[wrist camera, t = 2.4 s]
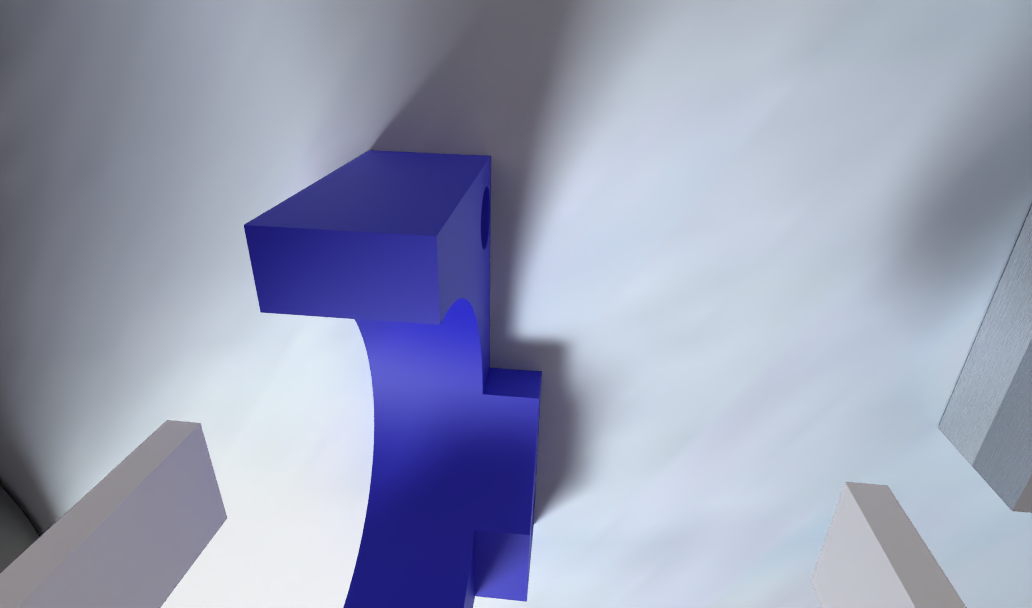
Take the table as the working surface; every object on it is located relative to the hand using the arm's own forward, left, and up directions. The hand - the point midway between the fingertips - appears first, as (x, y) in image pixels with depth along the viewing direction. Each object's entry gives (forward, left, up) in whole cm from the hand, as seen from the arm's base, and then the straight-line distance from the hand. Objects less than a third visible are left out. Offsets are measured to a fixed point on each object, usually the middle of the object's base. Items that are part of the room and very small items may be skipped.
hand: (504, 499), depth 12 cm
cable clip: (-2, 0, -5) cm, 6 cm away
